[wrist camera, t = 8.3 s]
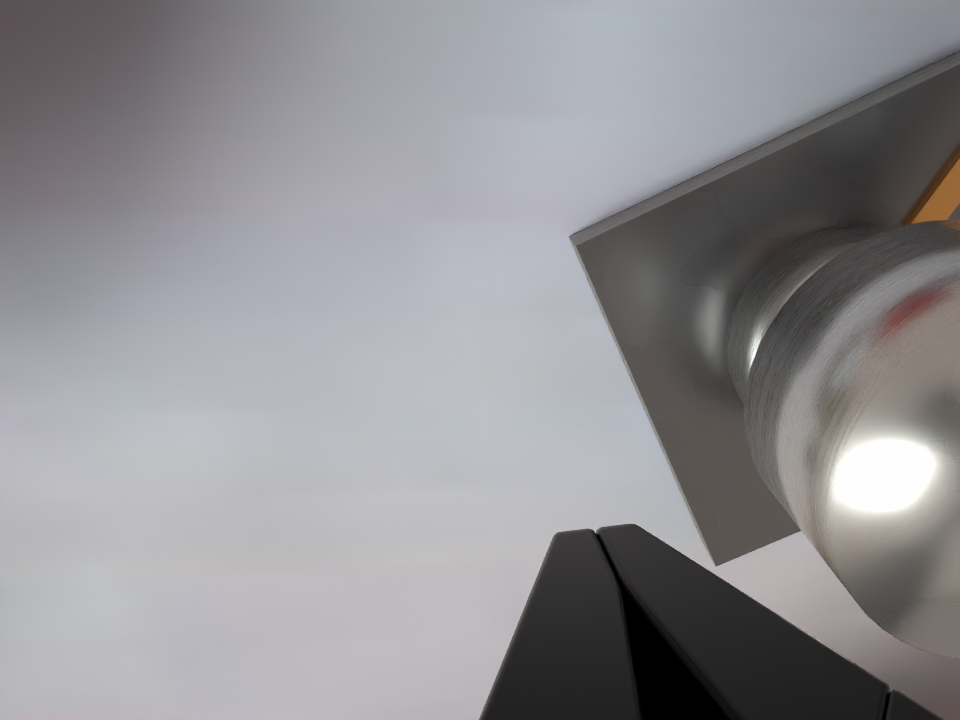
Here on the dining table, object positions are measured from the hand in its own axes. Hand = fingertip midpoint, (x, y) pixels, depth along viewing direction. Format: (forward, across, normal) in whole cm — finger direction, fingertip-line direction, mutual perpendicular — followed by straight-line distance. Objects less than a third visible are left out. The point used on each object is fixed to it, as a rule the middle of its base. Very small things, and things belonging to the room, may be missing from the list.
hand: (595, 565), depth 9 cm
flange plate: (+13, -8, +2) cm, 15 cm away
